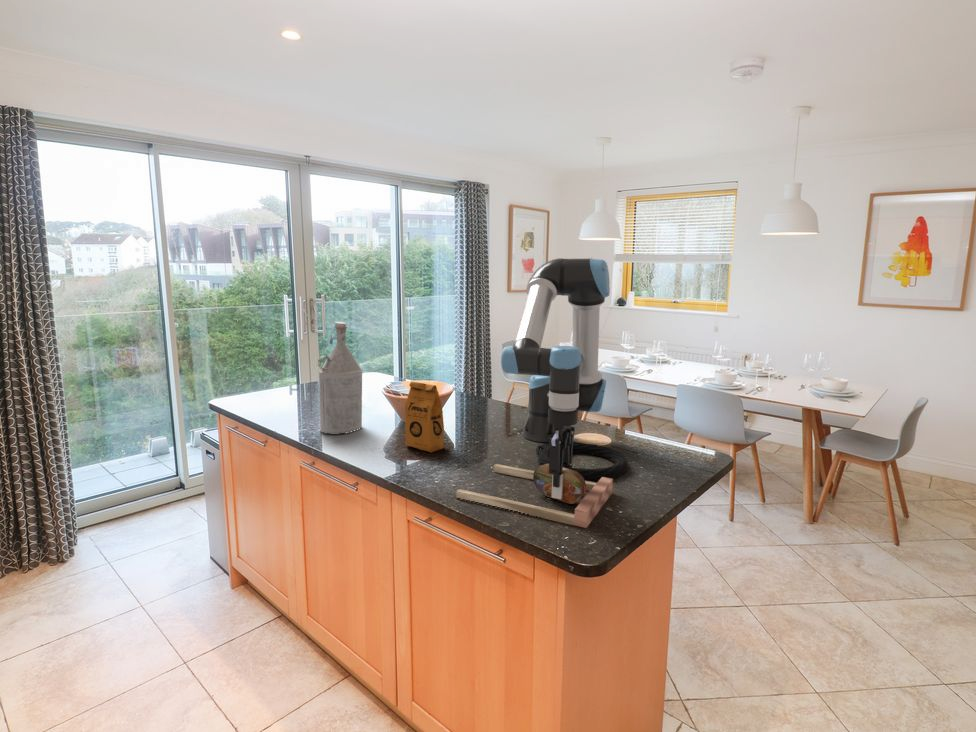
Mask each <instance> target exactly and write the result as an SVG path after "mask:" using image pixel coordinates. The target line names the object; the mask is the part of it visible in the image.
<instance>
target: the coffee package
mask: <svg viewBox="0 0 976 732" xmlns="http://www.w3.org/2000/svg"><path fill="white" fill-rule="evenodd" d="M409 387H410V388H409V391H408V394H407V398H406V401H405V405H404V422H405V427H404V429H405V446H408V447H412V448H414V449H417V450H420V451H424V452H429V453H433V452H436V451H439V450H440V451H441V450H442V449H444V432H445V431H444V430H445V425H444V424H445V423H444V414H443V413H444V412H443V405H442V402H441V398H440V395H439V391H438V388H437V385H435V384H429V383H423V382H416V381H412V380H411V381H410V383H409Z"/></svg>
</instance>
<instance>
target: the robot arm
mask: <svg viewBox="0 0 976 732" xmlns="http://www.w3.org/2000/svg"><path fill="white" fill-rule="evenodd" d="M609 273H610V272H609V266H608V264H607V262H606V260H604V259H598V258H597V259H595V258H593V257H591V258H554V259H551V260H549V261H546V262H545V263H543V264H542V265H540V267H538V268H537V269H536V270H535V271H534V272H533V273H532V275H531V277H530V278H529V280H528V281H527V285H526V290H525V291H526V295H527V297H526V300H525V304H524V307H523V311H522V313H521V318H520V320H519V321H520V322H519V325H518V328H517V332H516V333H515V337H514V338H515V339H514V343H513V345H507V346H505V347H504V348H503V349H502V352H501V356H500V365H501V369H502V371H503V372H504V373H506V374H511V375H512V374H513V375H522V376H523V375H526V376H531V377H530V378H529V386H528V391H529V392H528V414H527V418H526V420H525V423H524V426H523V429H522V437H524V439H527V440H528V441H534V442H539V443H548V445H549V474H552V496H551V497H552V499H554V498H557V499H562V496H563V474H562V468H563V467H564V468H567V469H568V468H569V469H572V467H573V465H571V464H572V463H573V454H574V453H573V443H574V437H575V431H576V428H575V425H576V424H578V421H579V420H578V419H579V412H584V413H585V412H586V413H589V412H590V413H598V412H600V411H601V410H602V406H603V403H604V396H605V392H606V385H607V380H606V379H604V378H603V374H602V373H601V371H599V345H600V344H599V342H600V341H599V340H600V339H599V338H600V311H601V310H600V308H601V306H602V305H603V304H604V303H605V301H606V300H605V298H608V297H609V296H610V292H611V291H610V290H611V287H610V284H611V283H610V274H609ZM557 296H565V297H567V301H568V303H569V304H570V305H571V306H572V345H557V346H553V347H552V348H546V347H542V342H543V339H544V335H545V330H546V326H547V322H548V319H549V318H548V317H549V315H550V310H551V305H552V302H553V301H554V300H555V299H556V297H557ZM551 497H550V498H551ZM557 499H556V500H557Z"/></svg>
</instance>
